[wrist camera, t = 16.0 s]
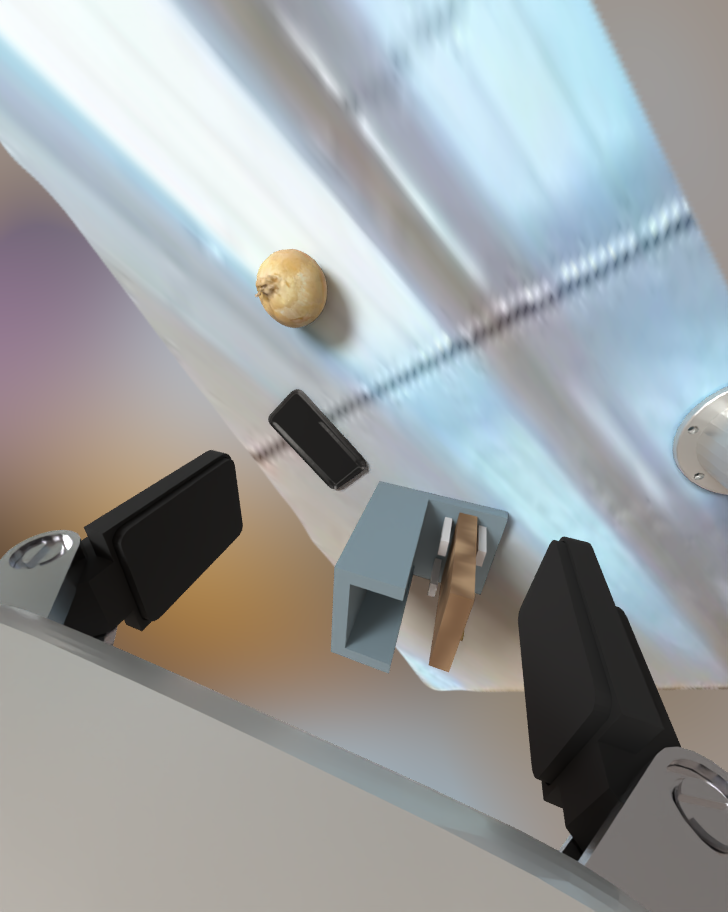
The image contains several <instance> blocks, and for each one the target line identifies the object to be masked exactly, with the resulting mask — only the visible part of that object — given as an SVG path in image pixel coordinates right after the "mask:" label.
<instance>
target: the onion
mask: <svg viewBox="0 0 728 912" xmlns="http://www.w3.org/2000/svg"><path fill="white" fill-rule="evenodd" d="M256 287H257V291H258V293H257V294H256V295H255V297H259V298H260V300H261V303H262V305H263V307H264V308H265V310H266V311H267V312H268V314H269V315H270V316H271V317H272V318H274V319H275V320H276V321H277V322H279V323H280V324H282V325H285V326H287V327H292V328H299V327H303V326H306V325H308V324H310V323H311V322H313V321H314V320H315V319H316V318H317V317H318V316H319V315H320V313H321V312H322V310H323V308H324V306H325V303H326V299H327V283H326V279H325V276H324V273H323V271H322V269H321V268H320V267H319V265H318V264H317V263H316V261H315V260H314V259H312V258H311V257H310V256H309V255H307V254H305V253H303V252H301V251H298V250H295V249H287V250H279V251H277V252H274V253H273V254H271V255H270V256H269V257H268V258H267V259H266V260H265V261H264V262H263V263H262V264H261V266H260V268H259V271H258V274H257V281H256Z"/></svg>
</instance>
